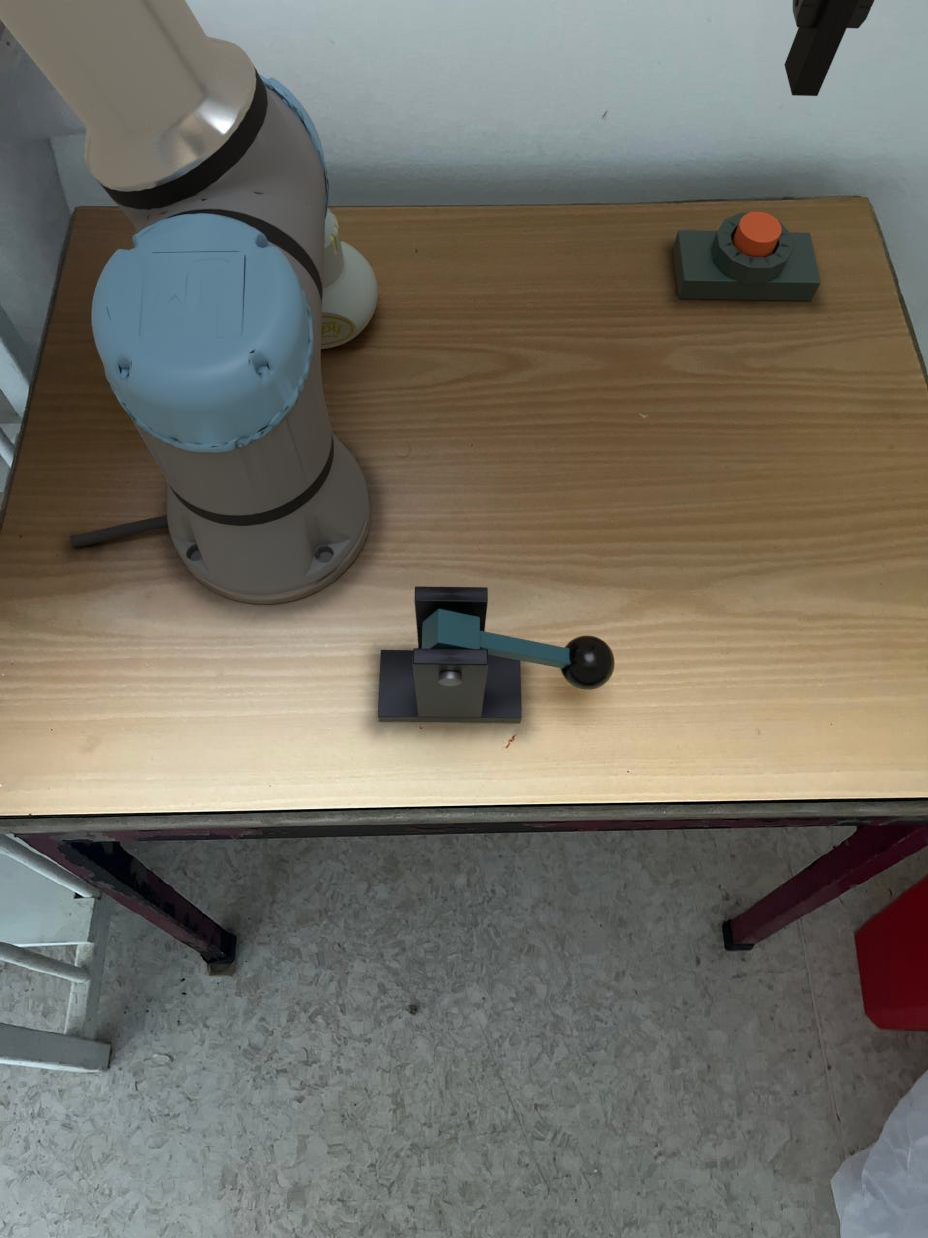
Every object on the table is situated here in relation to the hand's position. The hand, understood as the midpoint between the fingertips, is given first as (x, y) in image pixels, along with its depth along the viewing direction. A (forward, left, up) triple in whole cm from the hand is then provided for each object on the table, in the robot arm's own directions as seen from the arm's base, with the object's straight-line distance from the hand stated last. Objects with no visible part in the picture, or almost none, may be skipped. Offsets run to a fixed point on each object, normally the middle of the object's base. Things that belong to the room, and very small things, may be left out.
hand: (800, 79), depth 49 cm
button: (+6, +11, -22) cm, 25 cm away
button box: (+6, +11, -25) cm, 28 cm away
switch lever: (-16, -29, -19) cm, 38 cm away
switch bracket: (-20, -29, -25) cm, 43 cm away
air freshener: (-32, +5, -26) cm, 41 cm away
